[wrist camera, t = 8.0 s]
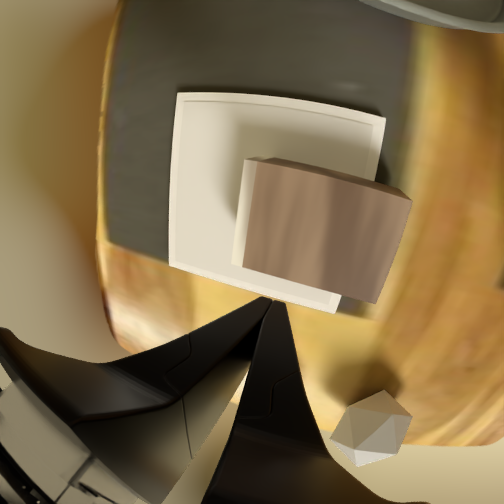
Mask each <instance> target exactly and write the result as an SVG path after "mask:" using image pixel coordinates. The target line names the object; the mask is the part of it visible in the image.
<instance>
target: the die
mask: <svg viewBox="0 0 504 504" xmlns="http://www.w3.org/2000/svg"><path fill="white" fill-rule="evenodd" d="M412 417H413V416H411V415H410V414H409V413H408V412H407V411H406V410H405V409H404V408H403V407H402V406H401V405H400V404H399V403H398V402H397V401H396V400H395V399H394V398H393V397H392V396H391V395H390V394H389V393H388V392H387V391H385V390H382V391H380V392H378V393H376V394H374V395H372V396H370V397H368V398H365V399H363V400H361V401H359V402H356V403H354V404H352V405H349V406H348V407H347V409H346V411H345V413H344V415H343V416H342V418H341V420H340V422H339V424H338V425H337V427H336V429H335V430H334V432H333V434H332V436H331V437H330V440H331V441H332V442H333V443H334V444H335V445H336V446H337V447H338V448H339V449H340V450H341V451H342V452H343V453H344V454H345V455H346V456H347V457H348V458H349V459H350V460H351V461H352V462H353V463H354V464H355V465H356V466H357V467H358V466H362V465H365V464H369V463H372V462H375V461H379V460H382V459H385V458H388V457H391V456H393V455H396V454H397V453H398V450H399V449H400V446H401V444H402V442H403V439H404V437H405V435H406V432H407V430H408V427H409V425H410V422H411V419H412Z"/></svg>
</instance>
